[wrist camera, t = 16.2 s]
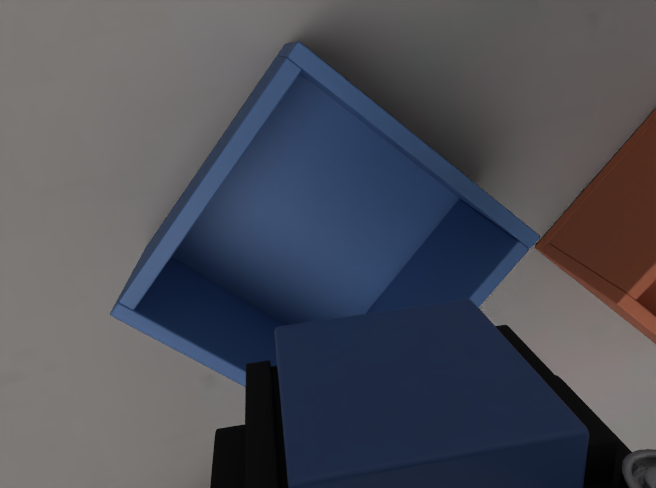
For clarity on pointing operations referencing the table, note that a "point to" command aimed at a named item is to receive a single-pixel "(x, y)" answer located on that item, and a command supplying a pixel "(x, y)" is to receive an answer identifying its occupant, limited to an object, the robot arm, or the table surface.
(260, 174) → the blue bin
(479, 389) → the blue block
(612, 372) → the table surface
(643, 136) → the terracotta bin
